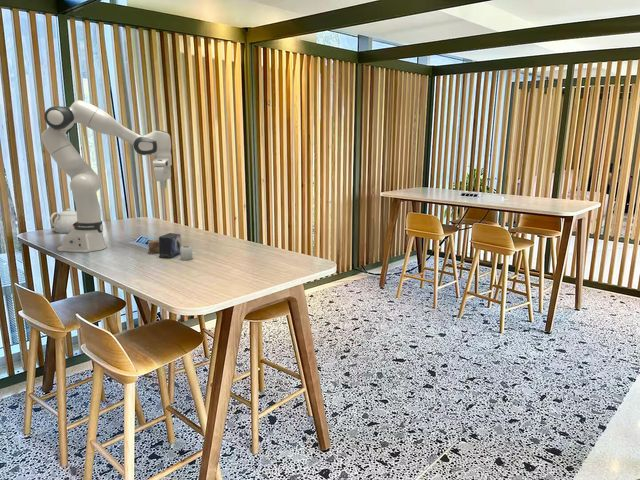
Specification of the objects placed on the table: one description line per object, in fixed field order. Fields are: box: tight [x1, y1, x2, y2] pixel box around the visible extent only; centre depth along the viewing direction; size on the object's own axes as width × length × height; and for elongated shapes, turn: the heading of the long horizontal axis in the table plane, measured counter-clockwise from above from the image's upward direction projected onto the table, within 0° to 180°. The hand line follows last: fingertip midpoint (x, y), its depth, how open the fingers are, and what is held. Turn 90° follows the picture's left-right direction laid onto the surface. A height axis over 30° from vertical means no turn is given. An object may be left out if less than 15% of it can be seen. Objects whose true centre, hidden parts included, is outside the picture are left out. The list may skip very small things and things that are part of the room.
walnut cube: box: [147, 239, 159, 255], centre depth 233 cm, size 6×6×6 cm
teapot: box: [49, 208, 77, 234], centre depth 275 cm, size 19×18×14 cm
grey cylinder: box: [179, 245, 193, 261], centre depth 223 cm, size 6×6×6 cm
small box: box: [158, 232, 182, 259], centre depth 228 cm, size 11×6×10 cm, turn 168°
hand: (163, 188), depth 242 cm, fingers closed
